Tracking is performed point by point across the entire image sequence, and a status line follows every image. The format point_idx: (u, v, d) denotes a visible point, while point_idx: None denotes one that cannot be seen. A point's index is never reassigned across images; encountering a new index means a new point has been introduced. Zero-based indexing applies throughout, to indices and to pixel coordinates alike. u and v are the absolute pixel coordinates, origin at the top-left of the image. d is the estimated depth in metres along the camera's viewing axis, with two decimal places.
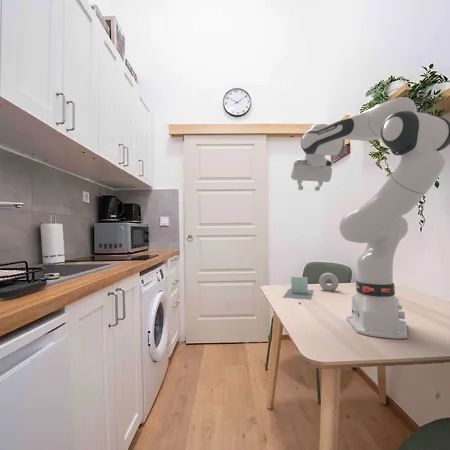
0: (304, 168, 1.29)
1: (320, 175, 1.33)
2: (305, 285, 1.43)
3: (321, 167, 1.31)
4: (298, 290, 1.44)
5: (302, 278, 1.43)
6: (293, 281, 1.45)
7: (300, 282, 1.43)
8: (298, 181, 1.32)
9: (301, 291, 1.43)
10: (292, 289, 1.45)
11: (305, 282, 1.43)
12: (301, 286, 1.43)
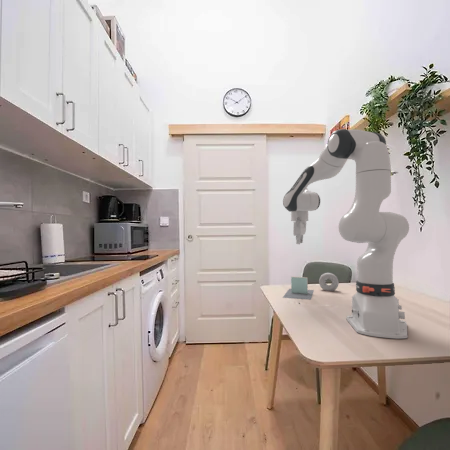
0: (301, 224, 1.44)
1: (303, 229, 1.53)
2: (305, 285, 1.43)
3: None
4: (298, 290, 1.44)
5: (302, 278, 1.43)
6: (293, 281, 1.45)
7: (300, 282, 1.43)
8: (297, 236, 1.44)
9: (301, 291, 1.43)
10: (292, 289, 1.45)
11: (305, 282, 1.43)
12: (301, 286, 1.43)
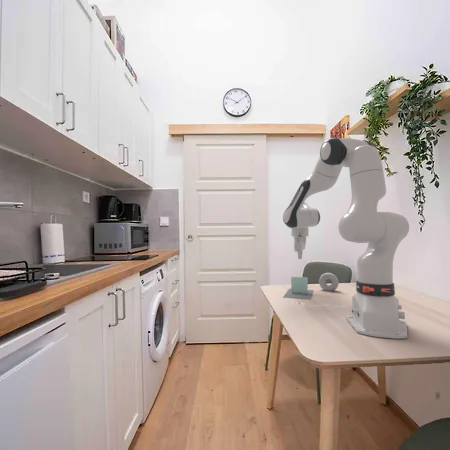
0: (302, 240, 1.45)
1: None
2: (305, 285, 1.43)
3: None
4: (298, 290, 1.44)
5: (302, 278, 1.43)
6: (293, 281, 1.45)
7: (300, 282, 1.43)
8: (299, 251, 1.48)
9: (301, 291, 1.43)
10: (292, 289, 1.45)
11: (305, 282, 1.43)
12: (301, 286, 1.43)
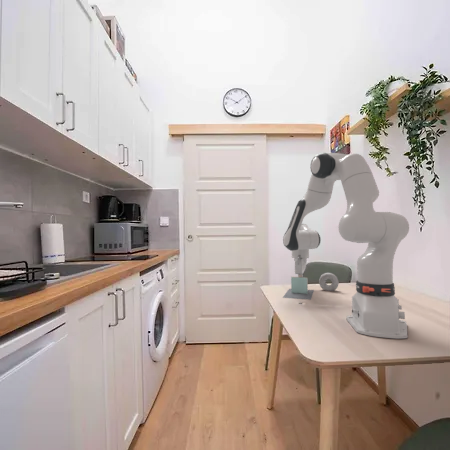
0: (302, 262, 1.43)
1: (304, 265, 1.52)
2: (305, 285, 1.43)
3: None
4: (298, 290, 1.44)
5: (302, 278, 1.43)
6: (293, 281, 1.45)
7: (300, 282, 1.43)
8: (300, 273, 1.47)
9: (301, 291, 1.43)
10: (292, 289, 1.45)
11: (305, 282, 1.43)
12: (301, 286, 1.43)
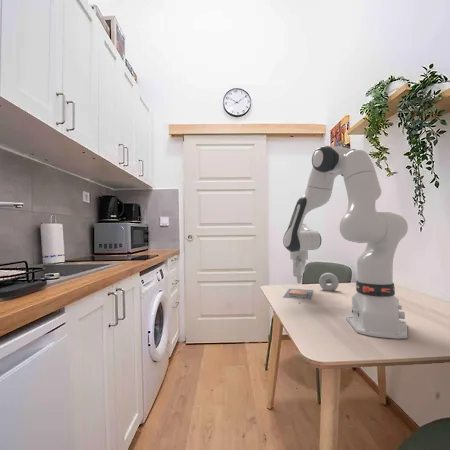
0: (301, 264, 1.37)
1: (303, 267, 1.46)
2: None
3: None
4: None
5: (301, 296, 1.36)
6: None
7: None
8: None
9: None
10: None
11: None
12: None
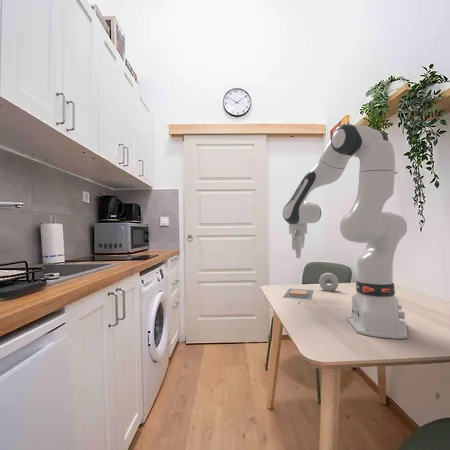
0: (300, 238, 1.35)
1: (302, 242, 1.44)
2: None
3: None
4: None
5: (301, 296, 1.36)
6: None
7: None
8: (297, 250, 1.39)
9: None
10: None
11: None
12: None
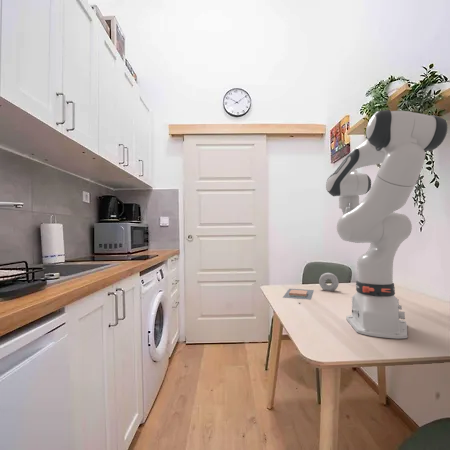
0: None
1: None
2: None
3: None
4: None
5: (301, 296, 1.36)
6: None
7: None
8: None
9: None
10: None
11: None
12: None
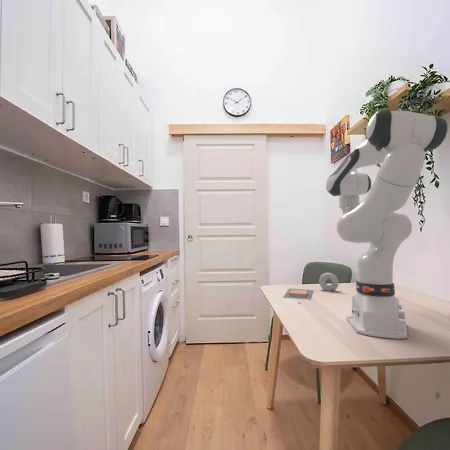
0: None
1: None
2: None
3: None
4: None
5: (301, 296, 1.36)
6: None
7: None
8: None
9: None
10: None
11: None
12: None
